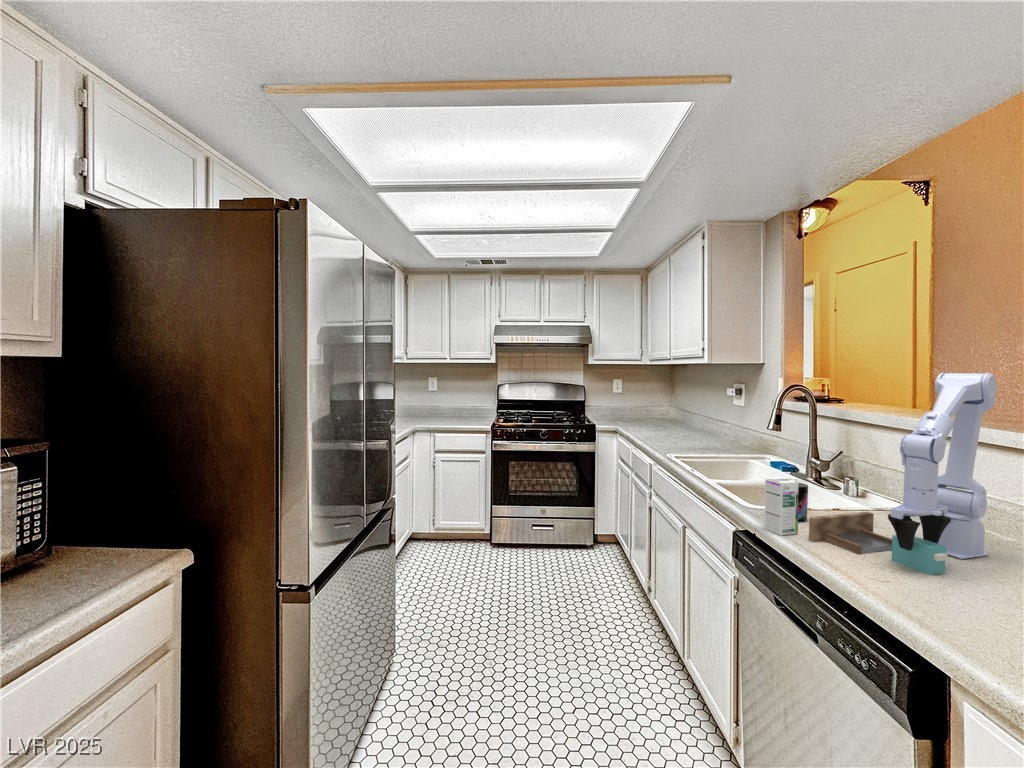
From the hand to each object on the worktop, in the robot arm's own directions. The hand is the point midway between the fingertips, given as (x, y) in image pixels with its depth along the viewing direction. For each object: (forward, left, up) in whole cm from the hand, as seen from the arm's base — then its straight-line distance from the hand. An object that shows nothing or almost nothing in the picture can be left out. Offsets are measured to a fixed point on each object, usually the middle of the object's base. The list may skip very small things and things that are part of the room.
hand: (917, 547), depth 105 cm
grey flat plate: (0, -13, -4) cm, 14 cm away
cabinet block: (0, 0, -5) cm, 5 cm away
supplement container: (-1, -34, -5) cm, 34 cm away
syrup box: (+12, -26, -5) cm, 29 cm away
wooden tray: (0, -13, -4) cm, 14 cm away
